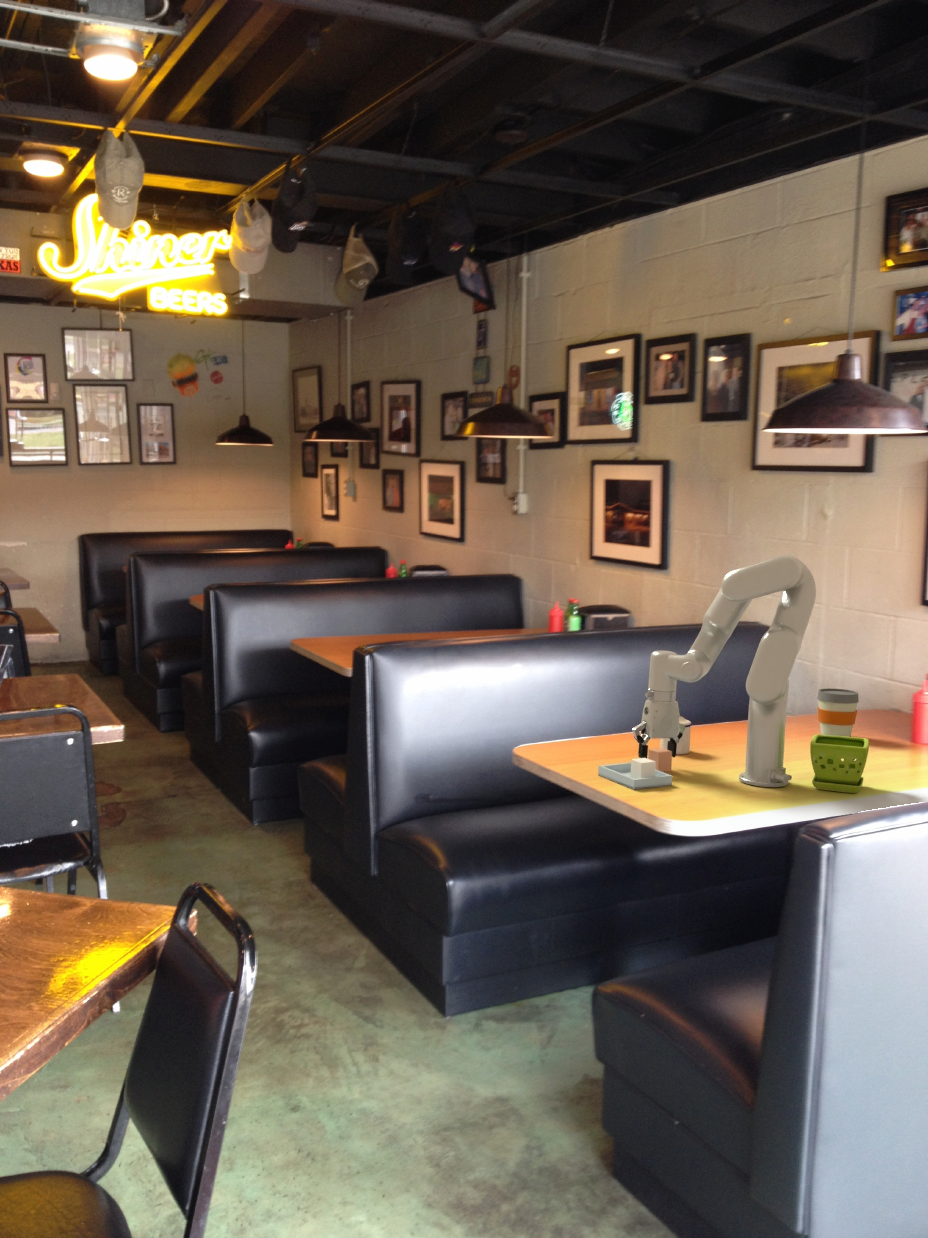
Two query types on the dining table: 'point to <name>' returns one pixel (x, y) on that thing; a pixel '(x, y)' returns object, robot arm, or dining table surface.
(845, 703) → the reusable coffee cup
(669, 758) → the terracotta block
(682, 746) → the teacup with lid
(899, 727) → the dining table surface
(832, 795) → the dining table surface
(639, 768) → the white block
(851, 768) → the flower pot
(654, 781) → the tray
